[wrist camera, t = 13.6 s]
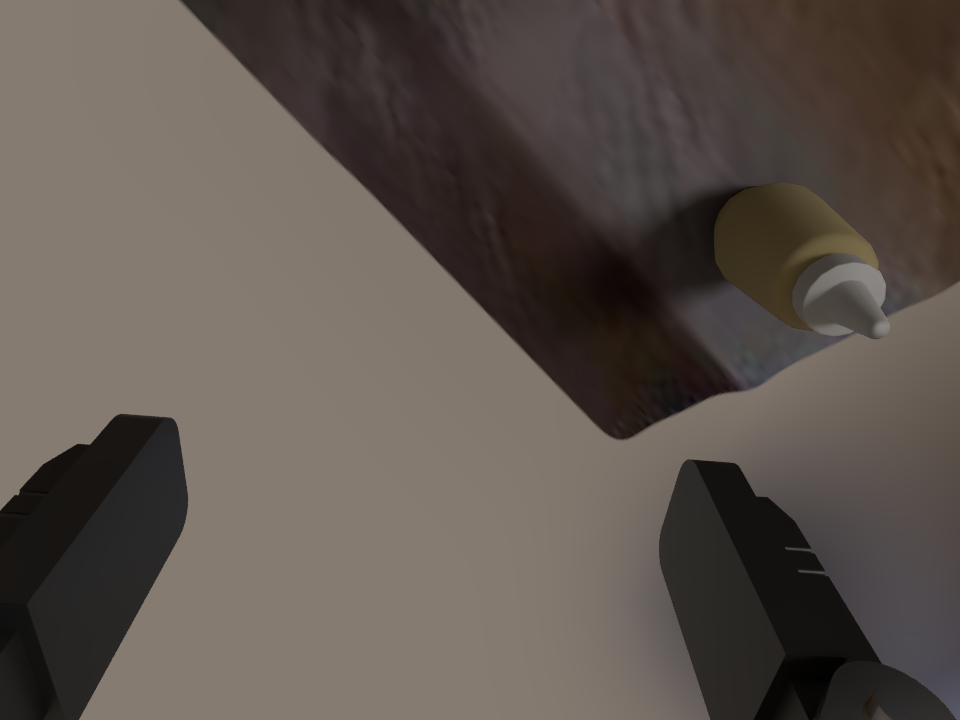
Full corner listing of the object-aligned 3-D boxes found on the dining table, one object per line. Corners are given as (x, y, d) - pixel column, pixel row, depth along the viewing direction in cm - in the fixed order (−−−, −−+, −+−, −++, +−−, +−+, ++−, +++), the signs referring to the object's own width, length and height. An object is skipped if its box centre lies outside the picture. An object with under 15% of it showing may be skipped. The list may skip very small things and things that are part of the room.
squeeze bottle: (679, 253, 51) (769, 368, 35) (734, 153, 47) (861, 232, 32) (768, 287, 52) (893, 412, 37) (828, 192, 49) (996, 287, 33)
